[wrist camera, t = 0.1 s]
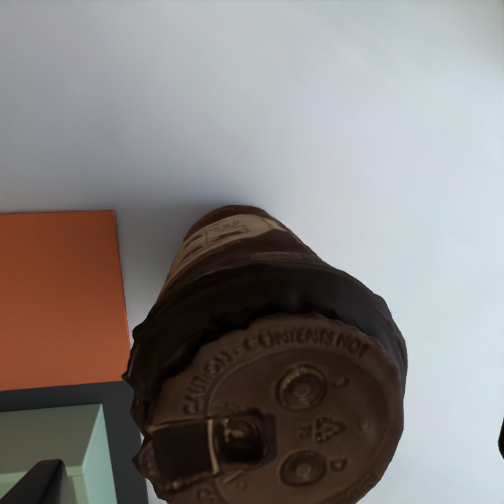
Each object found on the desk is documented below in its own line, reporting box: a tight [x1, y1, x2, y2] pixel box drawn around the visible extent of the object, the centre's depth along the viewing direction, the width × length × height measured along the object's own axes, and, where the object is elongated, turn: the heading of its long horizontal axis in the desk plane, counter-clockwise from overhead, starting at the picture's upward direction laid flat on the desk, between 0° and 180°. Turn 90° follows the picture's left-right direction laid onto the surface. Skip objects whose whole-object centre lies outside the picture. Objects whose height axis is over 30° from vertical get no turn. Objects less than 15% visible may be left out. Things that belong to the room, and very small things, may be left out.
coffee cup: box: [121, 205, 408, 504], centre depth 16 cm, size 9×8×13 cm
